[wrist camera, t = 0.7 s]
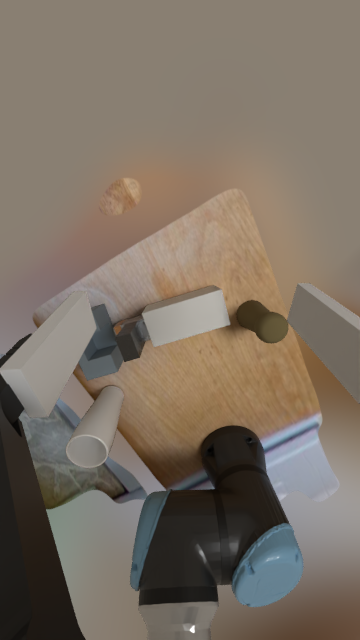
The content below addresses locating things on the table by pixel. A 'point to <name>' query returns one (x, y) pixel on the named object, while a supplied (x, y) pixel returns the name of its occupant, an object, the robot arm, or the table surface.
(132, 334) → the sliding bolt
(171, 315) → the sleeve
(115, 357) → the socket
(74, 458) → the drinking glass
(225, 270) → the table surface
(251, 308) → the olive knob-topped post
